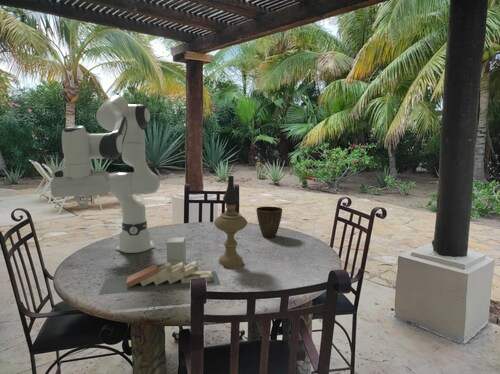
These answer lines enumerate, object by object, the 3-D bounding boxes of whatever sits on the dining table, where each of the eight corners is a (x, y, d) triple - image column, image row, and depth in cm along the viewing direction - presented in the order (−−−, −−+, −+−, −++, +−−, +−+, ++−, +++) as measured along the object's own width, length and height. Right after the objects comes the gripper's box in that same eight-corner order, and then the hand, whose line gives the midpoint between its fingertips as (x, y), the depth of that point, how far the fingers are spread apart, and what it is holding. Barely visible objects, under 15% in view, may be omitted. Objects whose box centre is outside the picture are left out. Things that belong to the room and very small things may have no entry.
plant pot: (251, 234, 213) (252, 207, 211) (274, 231, 220) (274, 205, 217) (263, 240, 200) (263, 212, 198) (286, 237, 206) (287, 210, 204)
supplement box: (186, 264, 164) (186, 237, 162) (184, 270, 156) (183, 242, 154) (170, 264, 163) (169, 237, 162) (166, 270, 156) (166, 242, 154)
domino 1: (127, 277, 142) (156, 263, 144) (130, 281, 142) (158, 267, 144) (125, 283, 136) (155, 268, 138) (128, 287, 137) (158, 273, 138)
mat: (105, 281, 144) (105, 279, 144) (215, 273, 154) (215, 271, 154) (98, 296, 131) (98, 294, 131) (220, 286, 140) (220, 284, 140)
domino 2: (141, 275, 143) (169, 262, 145) (143, 280, 143) (171, 266, 145) (140, 282, 137) (169, 267, 139) (142, 286, 138) (171, 272, 139)
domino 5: (180, 272, 146) (210, 270, 149) (181, 277, 147) (210, 275, 149) (181, 278, 140) (212, 276, 143) (181, 283, 141) (212, 281, 143)
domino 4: (167, 273, 145) (195, 260, 147) (169, 278, 146) (197, 264, 147) (167, 279, 139) (196, 265, 141) (170, 284, 140) (198, 270, 141)
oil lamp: (217, 271, 156) (216, 178, 150) (211, 259, 170) (210, 174, 164) (251, 267, 160) (252, 177, 154) (242, 256, 174) (243, 173, 168)
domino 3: (154, 275, 144) (182, 261, 146) (156, 279, 144) (184, 265, 146) (153, 281, 138) (182, 267, 140) (155, 285, 139) (184, 271, 140)
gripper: (110, 168, 138) (114, 203, 141) (53, 170, 135) (58, 206, 138) (106, 170, 132) (110, 207, 135) (46, 173, 129) (51, 211, 132)
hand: (83, 207), depth 136 cm, fingers closed
